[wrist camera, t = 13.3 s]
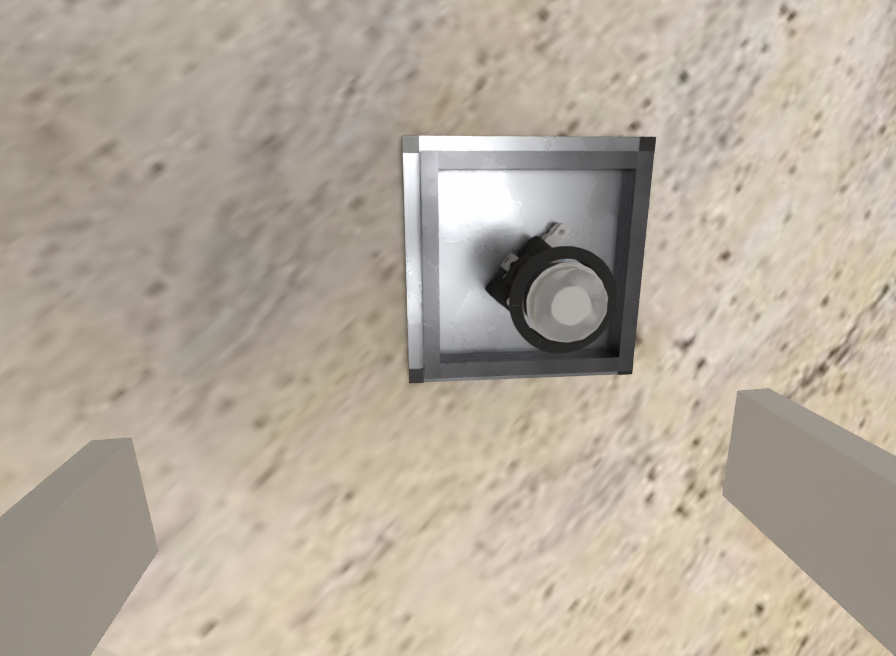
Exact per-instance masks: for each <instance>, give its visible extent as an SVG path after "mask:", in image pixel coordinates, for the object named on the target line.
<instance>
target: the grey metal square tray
mask: <svg viewBox="0 0 896 656" xmlns="http://www.w3.org/2000/svg"><path fill="white" fill-rule="evenodd" d="M402 142H403V178H404V214H405V250H406V286H407V321H408V357H409V383H424V382H438V381H463V380H488V379H513V378H538V377H563V376H588V375H613V374H618V375H626V374H632V370H633V357H634V347H635V338H636V328H637V318H638V308H639V298H640V288H641V278H642V268H643V258H644V248H645V238H646V229H647V219H648V209H649V199H650V189H651V179H652V169H653V159H654V152H655V143H656V137H536V136H402ZM557 222H559V223H560V224H561V223H564V224H565V225H566V226H567V227H569V228H570V229H571V231H570V233H569V234H568V235H567V236H566V237H565V239H564V240H563V241H562V242H561V243H560V244H561V245H562V246H574V247H579V248H582V249H585V250H588V251H590V252H592V253H594V254H595V255H597V256H598V257H599V258H601V259H602V260H603V261H604V262H605V263H606V265H607V266H608V267H609V269H610V271H611V272H612V275H613V277H614V280H615V283H616V288H617V303H616V308H615V312H614V315H613V317H612V319H611V322H610V323H609V325H608V327H607V328H606V329H605V331H604V332H603V333H602V334H601V335H600V336H599V337H598V338H597V339H596V340H595V341H594V342H592V343H591V344H589V345H588V346H586V347H584V348H582V349H579V350H577V351H573V352H569V353H549V352H545V351H542V350H540V349H538V348H535V347H534V346H532V345H531V344H529V343H528V342H527V341H526V340H525V339H524V338H523V337H522V336H521V335H520V334H519V332H518V331H517V329H516V328H515V326H514V324H513V322H512V319H511V315H510V311H508V310H507V309H506V308H505V307H503V306H502V305H501V304H500V303H498V302H497V301H496V300H495V299H494V298H492V297H491V296H490V295H489V294H488V293H487V291H486V290H485V288H486V287H487V285H488V284H489V283H490V282H491V280H492V279H494V278H501V277H502V276H503V275H504V273H505V272H506V270H505V269H504V268H502V267H501V266H500V264H501V263H502V262H503V260H504V259H505V258H506V257H507V256H508V254H510V253H512V254H514V255H516V256H517V257H519V255H520V254H521V253H522V252H523V251H524V249H525V248H526V246H527V243H528V242H529V241H530V240H531V238H532V237H534V236H538V237H542V236H543V235H544V234H548V232H549V231H550V230H551V229H552V228H553V226H554V225H555V224H556V223H557ZM556 229H557V228H556ZM556 229H555V230H556ZM555 230H554V231H555ZM559 233H560V230H559ZM564 233H565V232H564ZM564 233H563V234H562V235H564ZM508 259H509V258H508ZM508 259H507V260H508ZM507 260H506V261H507ZM564 261H565V262H567V263H580V262H578V261H577V260H574V259H565V260H564ZM580 264H581V263H580ZM523 314H524V313H523ZM524 317H525V320H526V322H527V324H528V325H529V327H530V328H532V329H534V328H533V326H532V324H531V322H530V320H529V318H528V317H527V316H526V315H525V314H524ZM534 330H535V329H534Z"/></svg>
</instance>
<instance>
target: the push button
mask: <svg viewBox="0 0 896 656" xmlns="http://www.w3.org/2000/svg"><path fill="white" fill-rule="evenodd" d="M556 228H557V229H556ZM555 229H556V230H555ZM554 230H555V231H554ZM559 230H560V233H559ZM570 231H571V229H570V228H569V227H567V226H566V225H565V224H564V223H561V224H560V223H559V222H557V223H556V224H555V225H554V226H553V228H552V229H551V230H550V231H549V232H548V234H544V235H543V236H542V237H538V236H534V237H532V238H531V240H530V241H529V242H528V243H527V246H526V248H525V249H524V251H523V252H522V253H521V254H520V255H519V257H517V256H516V255H514V254H512V253H510V254H508V256H507V257H506V258H505V259H504V260H503V262H502V263H501V264H500V266H501V267H502V268H504V269H505V270H506V272H505V273H504V275H503V276H502V277H501V278H494V279H492V280H491V282H490V283H489V284H488V285H487V287H486V288H485V290H486V291H487V293H488V294H489V295H490V296H491V297H492V298H494V299H495V300H496V301H497V302H498V303H500V304H501V305H502V306H503V307H505V308H506V309H507V310H508V311H510V315H511V319H512V322H513V324H514V326H515V328H516V329H517V331H518V332H519V334H520V335H521V336H522V337H523V338H524V339H525V340H526V341H527V342H528V343H529V344H531V345H532V346H534V347H535V348H538V349H540V350H542V351H545V352H549V353H569V352H573V351H577V350H579V349H582V348H584V347H586V346H588V345H589V344H591V343H592V342H594V341H595V340H596V339H597V338H598V337H599V336H600V335H601V334H602V333H603V332H604V331H605V329H606V328H607V327H608V325H609V323H610V322H611V319H612V317H613V315H614V312H615V308H616V303H617V288H616V283H615V280H614V277H613V275H612V272H611V271H610V269H609V267H608V266H607V265H606V263H605V262H604V261H603V260H602V259H601V258H599V257H598V256H597V255H595V254H594V253H592V252H590V251H588V250H585V249H582V248H579V247H574V246H562V245H561V244H560V243H561V242H562V241H563V240H564V239H565V237H566V236H567V235H568V234H569V233H570ZM564 232H565V233H564ZM563 233H564V235H562V234H563ZM508 258H509V259H508ZM507 259H508V260H507ZM565 259H574V260H577V261H578V262H580V263H581V264H580V263H567V262H565V261H564V260H565ZM506 260H507V261H506ZM523 313H524V314H525V315H526V316H527V317H528V318H529V320H530V322H531V324H532V326H533V328H534V329H535V330H534V329H532V328H530V327H529V325H528V324H527V322H526V320H525V317H524V314H523Z"/></svg>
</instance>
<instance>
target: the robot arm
mask: <svg viewBox="0 0 896 656" xmlns="http://www.w3.org/2000/svg"><path fill="white" fill-rule="evenodd" d="M722 495H723V496H724V497H725V498H726V499H727V500H728V501H729V502H730V503H731V504H732V505H734V506H735V507H736V508H737V509H738V510H739V511H740V512H741V513H742V514H743V515H744V516H745V517H746V518H747V519H749V520H750V521H751V522H752V523H753V524H754V525H755V526H756V527H757V528H758V529H759V530H760V531H761V532H762V533H764V534H765V535H766V536H767V537H768V538H769V539H770V540H771V541H772V542H773V543H774V544H775V545H776V546H777V547H779V548H780V549H781V550H782V551H783V552H784V553H785V554H786V555H787V556H788V557H789V558H790V559H791V560H792V561H794V562H795V563H796V564H797V565H798V566H799V567H800V568H801V569H802V570H803V571H804V572H805V573H806V574H807V575H809V576H810V577H811V578H812V579H813V580H814V581H815V582H816V583H817V584H818V585H819V586H820V587H821V588H822V589H824V590H825V591H826V592H827V593H828V594H829V595H830V596H831V597H832V598H833V599H834V600H835V601H836V602H837V603H839V604H840V605H841V606H842V607H843V608H844V609H845V610H846V611H847V612H848V613H849V614H850V615H851V616H852V617H853V618H855V619H856V620H857V621H858V622H859V623H860V624H861V625H862V626H863V627H864V628H865V629H866V630H867V631H868V632H870V633H871V634H872V635H873V636H874V637H875V638H876V639H877V640H878V641H879V642H880V643H881V644H882V645H883V646H885V647H886V648H887V649H888V650H889V651H890V652H891V653H892V654H893V655H894V656H896V456H894V455H893V454H891V453H889V452H887V451H885V450H883V449H881V448H879V447H878V446H876V445H874V444H872V443H870V442H868V441H866V440H864V439H863V438H861V437H859V436H857V435H855V434H853V433H851V432H849V431H848V430H846V429H844V428H842V427H840V426H838V425H836V424H835V423H833V422H831V421H829V420H827V419H825V418H823V417H821V416H820V415H818V414H816V413H814V412H812V411H810V410H808V409H806V408H805V407H803V406H801V405H799V404H797V403H795V402H793V401H791V400H790V399H788V398H786V397H784V396H782V395H780V394H778V393H776V392H775V391H773V390H771V389H769V388H767V389H754V390H741V391H737V398H736V405H735V411H734V418H733V425H732V432H731V439H730V446H729V452H728V459H727V466H726V473H725V480H724V487H723V493H722ZM157 552H158V547H157V543H156V538H155V534H154V530H153V526H152V522H151V517H150V513H149V509H148V505H147V501H146V497H145V492H144V488H143V484H142V480H141V476H140V471H139V467H138V463H137V459H136V455H135V450H134V446H133V442H132V438H119V439H106V440H93V441H90V442H89V443H88V444H87V445H86V446H84V447H83V448H82V449H81V450H80V451H78V452H77V453H76V454H75V455H74V456H72V457H71V458H70V459H69V460H68V461H66V462H65V463H64V464H63V465H62V466H60V467H59V468H58V469H57V470H56V471H55V472H53V473H52V474H51V475H50V476H49V477H47V478H46V479H45V480H44V481H43V482H41V483H40V484H39V485H38V486H37V487H35V488H34V489H33V490H32V491H31V492H29V493H28V494H27V495H26V496H25V497H23V498H22V499H21V500H20V501H19V502H17V503H16V504H15V505H14V506H13V507H12V508H10V509H9V510H8V511H7V512H6V513H4V514H3V515H2V516H1V517H0V656H90V655H91V654H92V652H93V651H94V649H95V647H96V646H97V644H98V643H99V641H100V640H101V638H102V637H103V635H104V634H105V632H106V630H107V629H108V627H109V626H110V624H111V623H112V621H113V620H114V618H115V617H116V615H117V614H118V612H119V610H120V609H121V607H122V606H123V604H124V603H125V601H126V600H127V598H128V597H129V595H130V593H131V592H132V590H133V589H134V587H135V586H136V584H137V583H138V581H139V580H140V578H141V576H142V575H143V573H144V572H145V570H146V569H147V567H148V566H149V564H150V563H151V561H152V560H153V558H154V556H155V555H156V553H157Z"/></svg>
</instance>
